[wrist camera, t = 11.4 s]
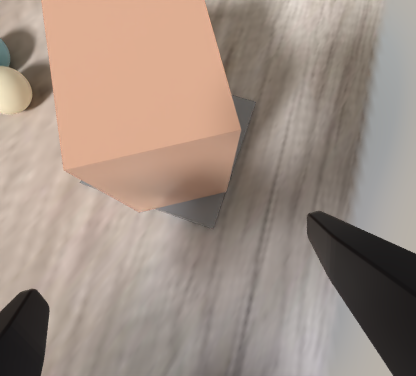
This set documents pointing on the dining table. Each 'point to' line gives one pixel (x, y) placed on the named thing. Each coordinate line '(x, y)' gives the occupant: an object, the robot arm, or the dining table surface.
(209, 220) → the plate
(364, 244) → the robot arm
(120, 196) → the peach rectangular box
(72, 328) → the dining table surface
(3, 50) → the marble
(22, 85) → the marble
